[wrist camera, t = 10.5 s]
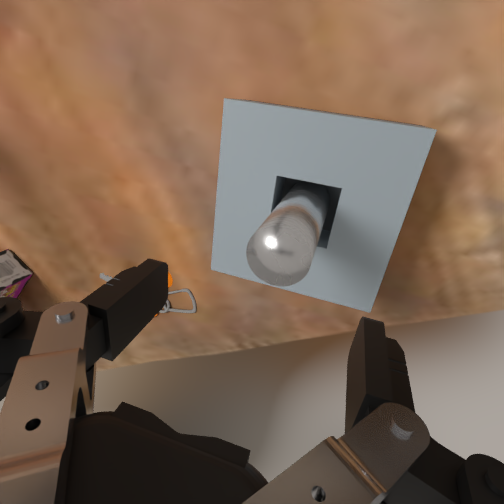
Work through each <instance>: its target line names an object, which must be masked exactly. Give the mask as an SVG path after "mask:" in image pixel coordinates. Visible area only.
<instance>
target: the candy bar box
mask: <svg viewBox="0 0 504 504" xmlns="http://www.w3.org/2000/svg"><path fill="white" fill-rule="evenodd" d="M32 274H33V273H32V271H31V270H30V269H29V268H28V267H27V266H26V265H25V264H24V263H22V262H21V260H20V259H19V258H18V257H17V256H16V255H15V254H14V253H12V252H11V251H10V250H9V249H7V250H4V251H2V252H0V297H13V298H17V297H18V295H19V294H20V292H21V291H22V289H23V288H24V286H25V285H26V283H27V282H28V280H29V279H30V277H31V276H32Z"/></svg>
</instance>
